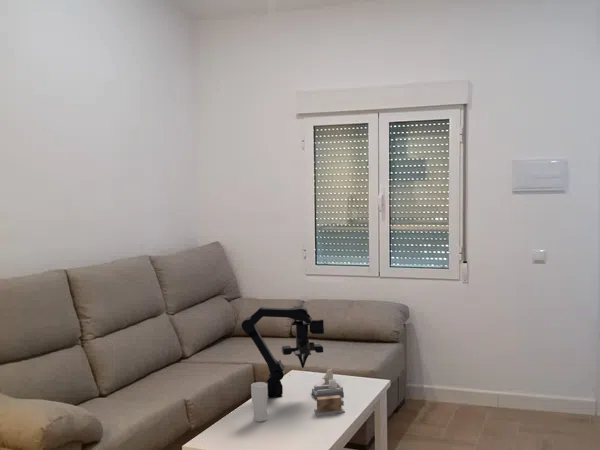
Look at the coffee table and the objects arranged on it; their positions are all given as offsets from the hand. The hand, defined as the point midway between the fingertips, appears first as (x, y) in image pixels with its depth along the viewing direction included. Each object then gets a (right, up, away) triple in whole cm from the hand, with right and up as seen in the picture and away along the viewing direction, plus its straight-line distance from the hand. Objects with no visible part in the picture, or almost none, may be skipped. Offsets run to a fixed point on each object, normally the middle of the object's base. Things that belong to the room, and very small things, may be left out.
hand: (302, 367), depth 282 cm
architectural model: (+13, -12, +16) cm, 24 cm away
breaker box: (+12, -13, 0) cm, 17 cm away
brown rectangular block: (+11, -13, -22) cm, 28 cm away
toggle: (+14, -10, 0) cm, 17 cm away
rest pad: (+11, -14, -22) cm, 28 cm away
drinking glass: (-18, -15, -29) cm, 37 cm away
